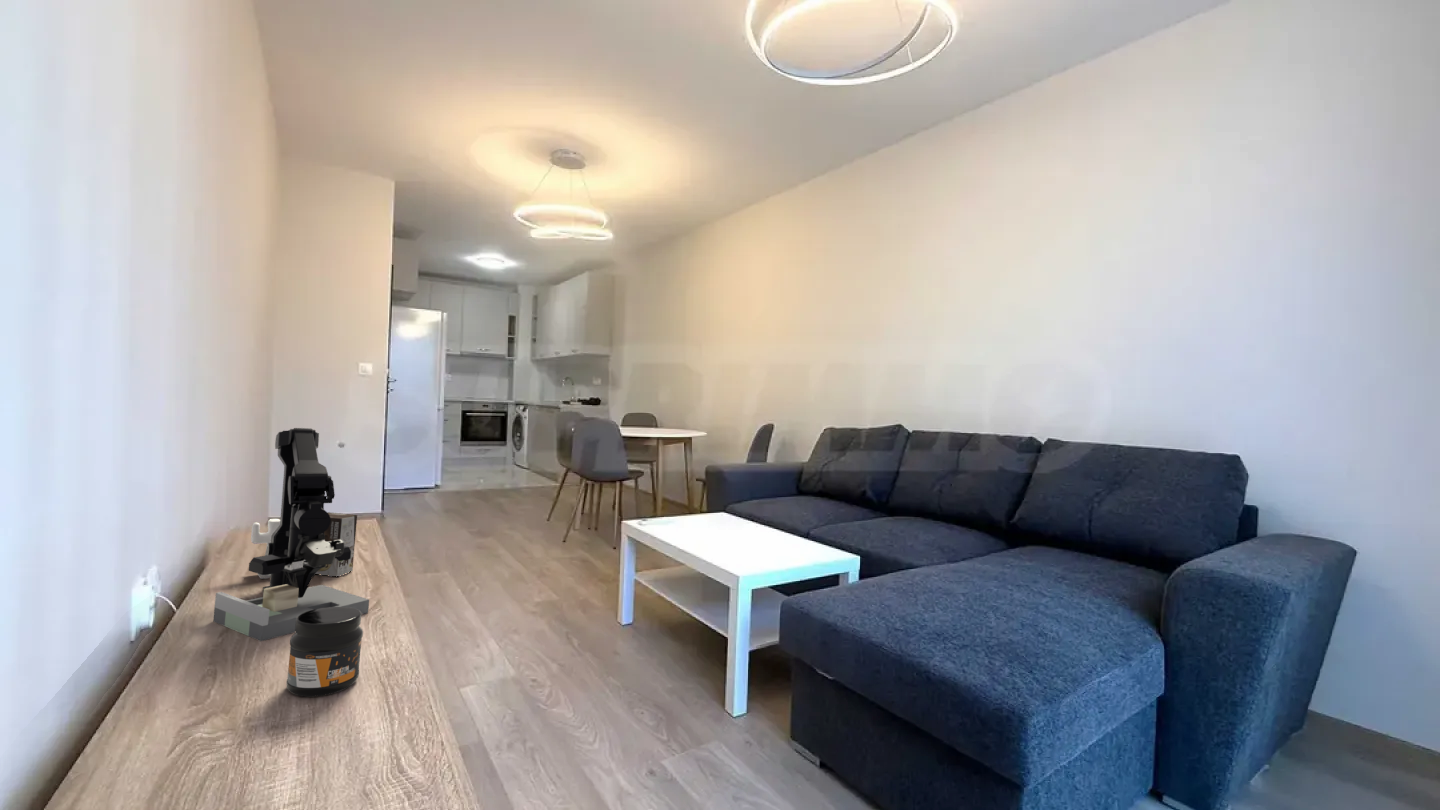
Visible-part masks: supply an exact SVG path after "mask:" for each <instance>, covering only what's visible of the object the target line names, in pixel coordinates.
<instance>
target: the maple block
mask: <svg viewBox="0 0 1440 810" xmlns="http://www.w3.org/2000/svg"><path fill="white" fill-rule="evenodd" d="M298 592H299V588H297V587H294V586H291V585H288V584H285V585H280V586H275V587H270V588H265V589H263V594H262V595H263V596H262V597H263V605H262V607H264V608H267V609H269V610H271V611H273V612H276V611H280V610H284V609H289V608H293V607H297V602H298Z"/></svg>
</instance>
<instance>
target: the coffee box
mask: <svg viewBox="0 0 1440 810" xmlns="http://www.w3.org/2000/svg"><path fill="white" fill-rule="evenodd" d="M327 513H328V514H329V515H330V519H331V523H330V526H329V527H328V529H327V530H326V531H325V532H324V534H325V541H326V542H329V541H331V542H332V541H333V540H340V539H341V540H342V541H343V542H344V546H347V547H349V548H350V549H351V551H352V554H351V559H349V560H343V561H337V560H336V559H335V558H334V561H333V563H332V564H330V565H328V564H326V566H325V567H324V568H321V569H320V570H318V571H317V572H316V573H315V574H321V575H320V576H322V575H329V576H328V577H332V576H336V577H335V578H338V577H337V576H339V577H341V576H340V575H342V576H344V575H343V574H345V573H348V572H350V571H352V572H353V569H354V560H355V559H354V558H355V557H354V556H355V545H356V536H357V523H358V514H352V513H351V514H349V513H341V512H339V513H338V512H330V511H329V512H327ZM348 574H349V573H348ZM345 575H346V574H345Z"/></svg>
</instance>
